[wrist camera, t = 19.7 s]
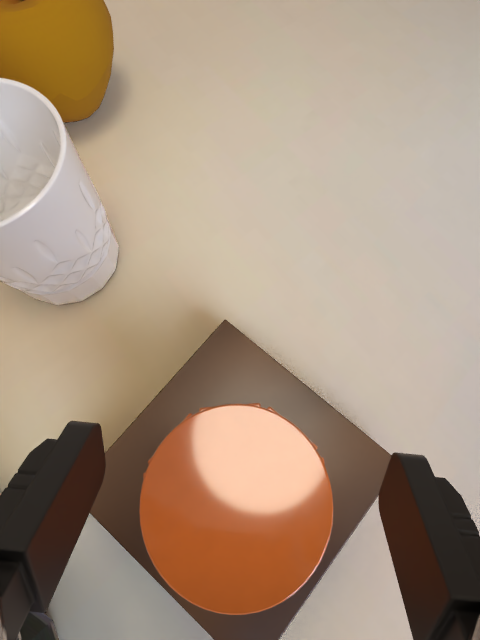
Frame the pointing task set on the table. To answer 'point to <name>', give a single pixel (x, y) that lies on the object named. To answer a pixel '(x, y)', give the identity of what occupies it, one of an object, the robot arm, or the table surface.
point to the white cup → (48, 205)
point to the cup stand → (241, 388)
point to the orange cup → (236, 508)
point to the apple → (58, 51)
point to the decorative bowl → (38, 627)
